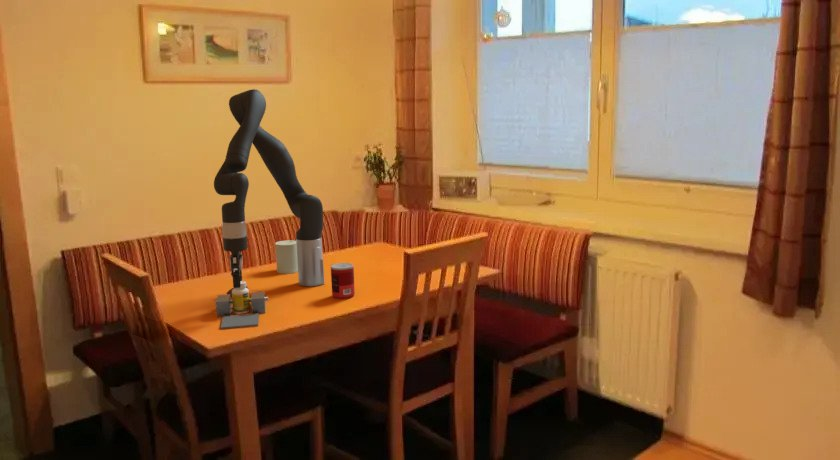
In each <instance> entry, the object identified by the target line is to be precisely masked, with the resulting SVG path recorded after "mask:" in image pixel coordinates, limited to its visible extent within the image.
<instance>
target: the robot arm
mask: <svg viewBox="0 0 840 460" xmlns="http://www.w3.org/2000/svg"><path fill="white" fill-rule="evenodd" d="M228 106H229V111H230V112H231V115H232V116H233V118H234V119H235V121H236V123H238V125H239V127H238V129H237V130H236V131H235V133H234V134H233V136H232V138H231V140H230V142H229V144H228V147H227V151H226V155H225V159H224V161H223V163H222V165H221V166H220V168H219V169H218V171H217V173H216V175H215V177H214V181H213V187H214V188H213V189H214V191H215V192H216V194H217V195H220V196H235V198H234V200H233V201H229V202H226V203H223V204H222V206H221V220H222V221H221V222H222V226H221V231H222V246H223V250H224V251H225V252H228V253H229V252H230V253H231V254H229V257H228V259H229V264H230V271H231V272H230V275H231V277H232V285H233V286H232V288H240V286H241V285H240V281H243V273H242V271H243V270H242V269H243V264H244V260H243V259H244V256H243V254H242V252H243V251H246V250H247V249H248V234H247V233H248V232H247V231H248V230H247V225H246V213H245V207H246V205H245V204H246V200H247V195H248V192H249V191H248V190H249V185H250V182H249V179H248V177H247V175H246V174H245V173H243V172H244V171H245V170H246V169H247V167H248V163H249V158H250V152H251V149H252V145H253V146H254V147H255V149H256V151H257V153H258V155H260V156H259V157H260V158H261V160H262V161H263V163H264V165H265V167H266V169H267V170H268V171H269V173H270V175H272V178H273V179H274V181H275V183H276V184H277V185H278V187H279V188H280V191H281V192H282V194H283V196H284V198H285V200H286V203H287V205H288V207H289V209H290V211H291V213H292V214H293V215H294V216H295V217H296V218H298V219H299V220H300V221H299V224H300V226H299V229H297V230H296V232H295V241H296V244H297V260H298V272H297V274H298V275H297V276H298V286H301V287H317V286H321V285H325V274H324V273H325V271H324V268H325V267H324V258H323V256H324V255H323V241H322V240H323V239H322V232H323V230H324V208H323V207H324V206H323V203H322V201H321V199H320V198H319V197H318V196H316V195H313V194H309V193H307V191H305V189H304V188H303V186H302V185H301V183H300V181H299V180H298V176H297V171H296V165H295V163H294V160H293V157H292V156H291V154H290V152H289V150H288V148H287V146H285V144H284V143H283V142H282V141H281V140H280V139H278V138H277V137H276V136H274V135H272V134H271V133H269V132H268V131H266V130H265V128H263V127H262V126H261V122H262V119H263V117H264V115H265V113H266V110H267V101H266V97H265V96H264V94H263V93H262V92H261V91H260V90H258V89H255V88H253V89H249V90H246V91H241V92H239V93H236V94H234V95H233V96H231V97H230V98H229V101H228Z"/></svg>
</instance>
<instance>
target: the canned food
mask: <svg viewBox="0 0 840 460" xmlns="http://www.w3.org/2000/svg"><path fill="white" fill-rule="evenodd" d="M330 277H331V280H330V281H331V295H332V297H333V299H335V300H347V299H352V298H354V296H355V294H356V293H355V291H356V290H355V269H354V264H353V263H350V262H338V263H334V264H332V265H330ZM351 297H352V298H351Z"/></svg>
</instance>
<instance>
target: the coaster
mask: <svg viewBox="0 0 840 460" xmlns="http://www.w3.org/2000/svg"><path fill="white" fill-rule="evenodd" d="M259 317H260V314H259V313H256V314H252V313H247V314H246V313H243V314H236V315H232V314H231V315H230V316H223V317H222V320H221V324H220V330H226V329H239V328H240V327H241V328H249V327H250V326H252V327H258V326H259V319H260V318H259ZM250 328H251V327H250Z"/></svg>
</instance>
